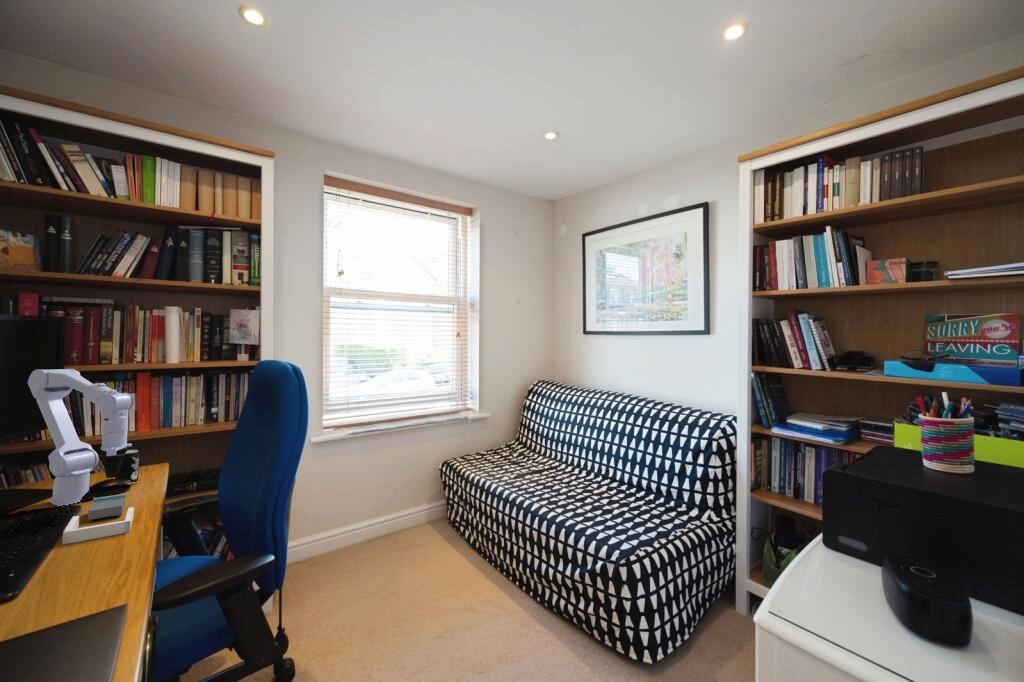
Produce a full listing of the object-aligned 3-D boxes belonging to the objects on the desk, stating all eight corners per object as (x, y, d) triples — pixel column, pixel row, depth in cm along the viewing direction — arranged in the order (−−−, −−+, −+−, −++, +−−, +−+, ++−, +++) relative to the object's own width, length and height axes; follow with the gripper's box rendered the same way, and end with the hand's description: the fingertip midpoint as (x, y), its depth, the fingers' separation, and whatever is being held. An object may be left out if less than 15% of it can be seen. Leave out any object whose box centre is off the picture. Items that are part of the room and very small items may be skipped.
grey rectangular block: (93, 511, 123) (93, 498, 123) (124, 507, 128) (125, 493, 128) (87, 522, 116) (88, 508, 116) (121, 517, 120) (122, 503, 120)
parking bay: (72, 527, 112) (72, 516, 112) (133, 517, 120) (134, 506, 120) (62, 544, 103) (63, 532, 103) (129, 532, 110) (130, 520, 110)
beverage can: (125, 487, 145) (127, 453, 146) (107, 487, 146) (109, 453, 146) (142, 482, 152) (144, 449, 152) (125, 481, 152) (127, 449, 153)
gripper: (129, 433, 127) (127, 477, 127) (134, 427, 138) (132, 467, 138) (97, 436, 123) (95, 481, 122) (105, 429, 134) (103, 471, 133)
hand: (113, 474), depth 130 cm, fingers open, 7 cm apart
